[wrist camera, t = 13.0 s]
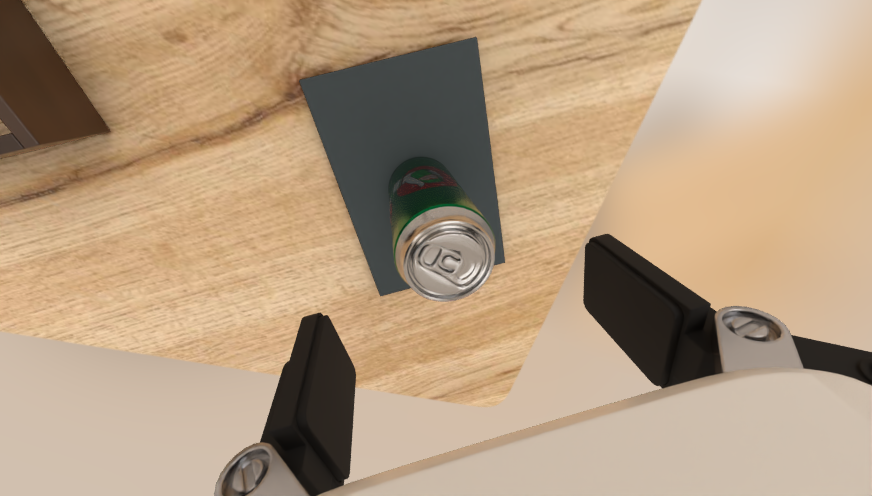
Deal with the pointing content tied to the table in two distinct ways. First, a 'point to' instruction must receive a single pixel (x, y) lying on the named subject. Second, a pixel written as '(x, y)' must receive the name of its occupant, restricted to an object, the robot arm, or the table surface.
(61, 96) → the frame
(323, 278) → the table surface
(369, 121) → the mat
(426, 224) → the soda can
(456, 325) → the table surface
